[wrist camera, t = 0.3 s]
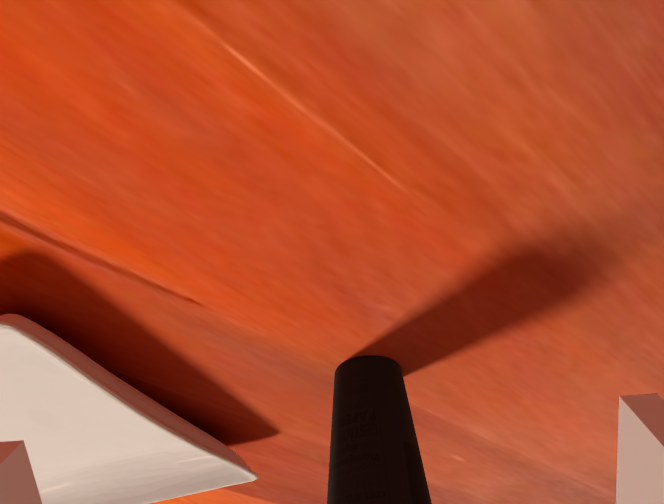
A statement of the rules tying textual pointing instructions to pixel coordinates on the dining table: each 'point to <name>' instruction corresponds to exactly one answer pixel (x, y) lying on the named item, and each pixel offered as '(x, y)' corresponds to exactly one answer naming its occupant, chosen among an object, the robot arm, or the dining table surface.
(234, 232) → the dining table surface
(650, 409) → the robot arm
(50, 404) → the square plate
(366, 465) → the drinking cup
